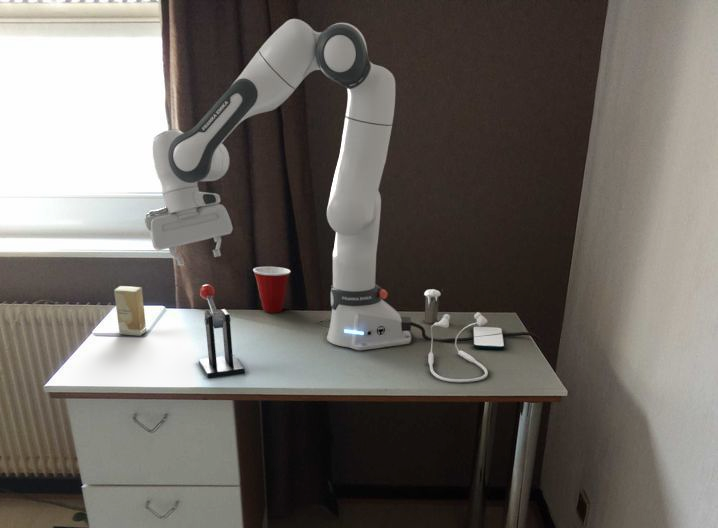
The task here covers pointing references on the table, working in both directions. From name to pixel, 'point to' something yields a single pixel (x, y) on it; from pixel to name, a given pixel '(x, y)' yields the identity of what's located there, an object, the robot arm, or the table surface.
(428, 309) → the milkshake
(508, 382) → the table surface
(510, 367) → the table surface
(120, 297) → the cosmetic box
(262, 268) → the plastic cup
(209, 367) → the bracket
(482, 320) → the earphone
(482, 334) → the smartphone
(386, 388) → the table surface
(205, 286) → the lever
